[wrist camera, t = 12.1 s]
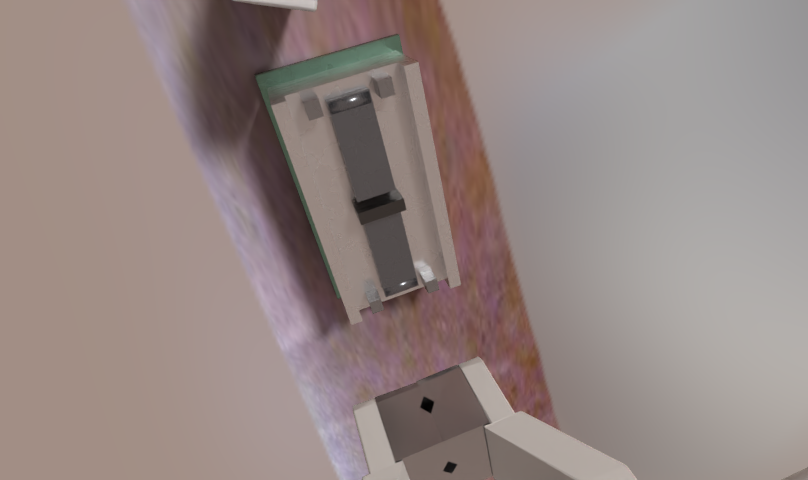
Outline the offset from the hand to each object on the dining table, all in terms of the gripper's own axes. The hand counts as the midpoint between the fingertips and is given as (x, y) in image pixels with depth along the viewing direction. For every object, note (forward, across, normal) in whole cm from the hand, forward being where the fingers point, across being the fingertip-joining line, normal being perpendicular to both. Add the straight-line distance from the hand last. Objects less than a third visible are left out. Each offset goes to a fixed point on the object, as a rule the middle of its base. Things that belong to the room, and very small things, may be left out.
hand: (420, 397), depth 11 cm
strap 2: (+26, -3, +14) cm, 29 cm away
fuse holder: (+30, -3, +10) cm, 32 cm away
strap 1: (+26, -3, +5) cm, 26 cm away
